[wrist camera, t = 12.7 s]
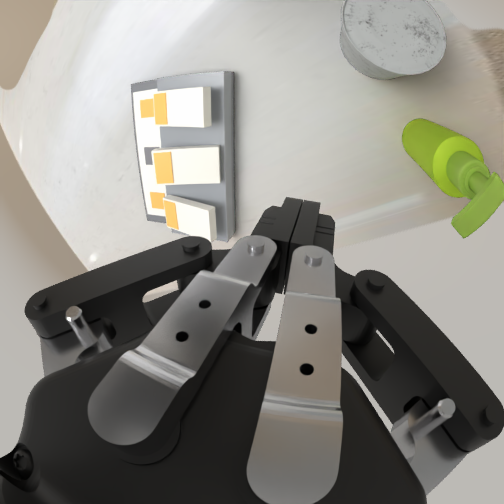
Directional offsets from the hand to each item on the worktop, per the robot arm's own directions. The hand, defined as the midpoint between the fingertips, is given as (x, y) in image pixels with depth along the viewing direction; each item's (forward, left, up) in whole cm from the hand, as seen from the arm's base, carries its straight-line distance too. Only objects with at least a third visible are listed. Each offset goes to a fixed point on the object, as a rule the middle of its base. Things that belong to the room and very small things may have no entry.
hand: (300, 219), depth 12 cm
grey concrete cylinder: (-13, +6, -26) cm, 30 cm away
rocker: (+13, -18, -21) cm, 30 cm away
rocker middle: (+5, -18, -21) cm, 28 cm away
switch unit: (+5, -21, -26) cm, 34 cm away
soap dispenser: (-1, +13, -26) cm, 29 cm away
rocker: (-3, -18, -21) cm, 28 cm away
